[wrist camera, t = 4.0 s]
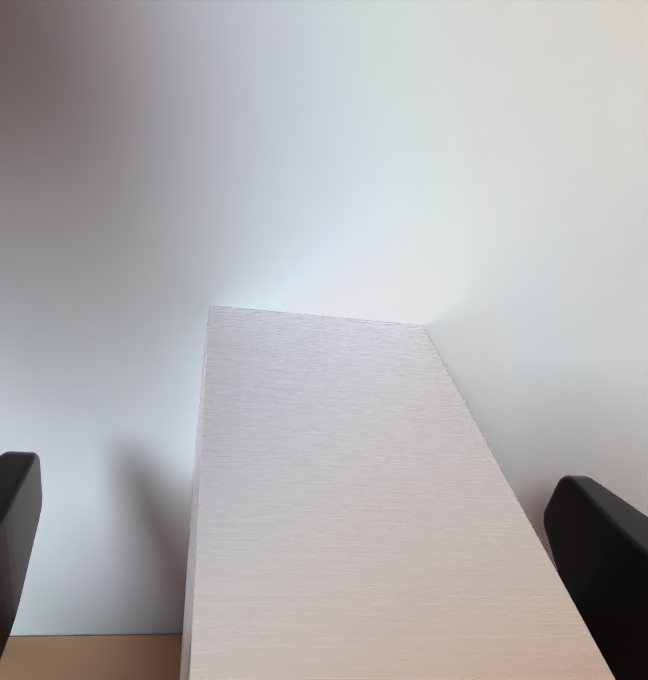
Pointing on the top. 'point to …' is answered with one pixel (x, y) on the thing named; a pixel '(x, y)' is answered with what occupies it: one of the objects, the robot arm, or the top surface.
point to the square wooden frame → (92, 657)
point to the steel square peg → (358, 518)
